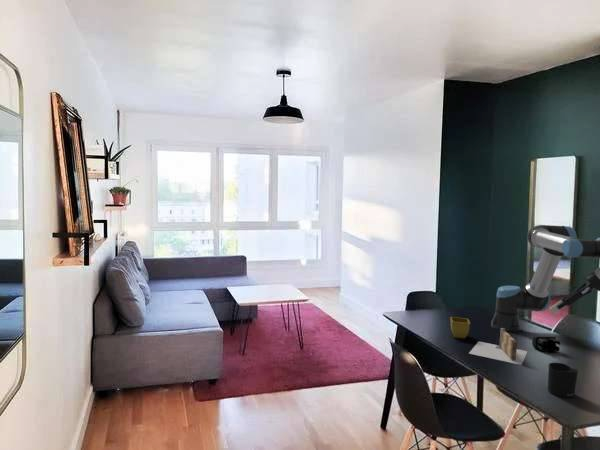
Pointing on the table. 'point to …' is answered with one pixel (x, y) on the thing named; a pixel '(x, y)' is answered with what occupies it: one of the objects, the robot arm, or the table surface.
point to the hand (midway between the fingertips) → (551, 311)
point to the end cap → (546, 344)
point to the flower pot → (459, 327)
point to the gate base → (497, 353)
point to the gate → (508, 344)
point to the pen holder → (562, 380)
